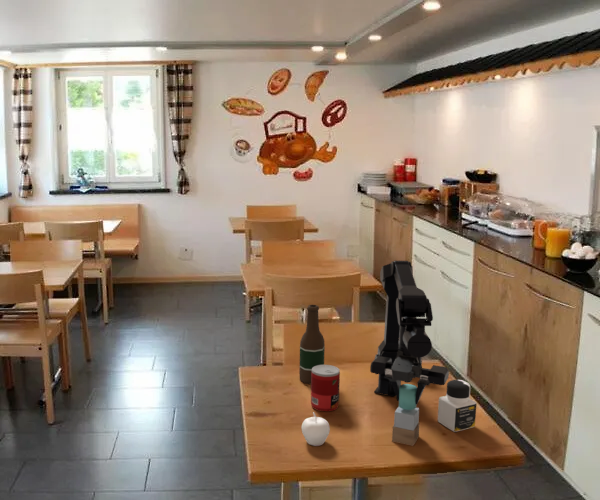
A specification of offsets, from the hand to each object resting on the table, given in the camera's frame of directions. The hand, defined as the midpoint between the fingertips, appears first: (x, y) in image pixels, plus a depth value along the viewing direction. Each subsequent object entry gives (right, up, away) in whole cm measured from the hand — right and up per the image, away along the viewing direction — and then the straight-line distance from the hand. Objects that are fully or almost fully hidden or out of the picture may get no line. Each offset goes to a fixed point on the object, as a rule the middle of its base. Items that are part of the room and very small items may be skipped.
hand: (407, 402), depth 164 cm
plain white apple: (-23, -10, -1) cm, 25 cm away
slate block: (0, -6, +1) cm, 6 cm away
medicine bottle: (+15, -9, +10) cm, 20 cm away
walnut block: (0, -10, +2) cm, 10 cm away
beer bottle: (-24, -2, +39) cm, 46 cm away
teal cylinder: (0, -1, 0) cm, 1 cm away
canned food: (-20, -6, +20) cm, 29 cm away
